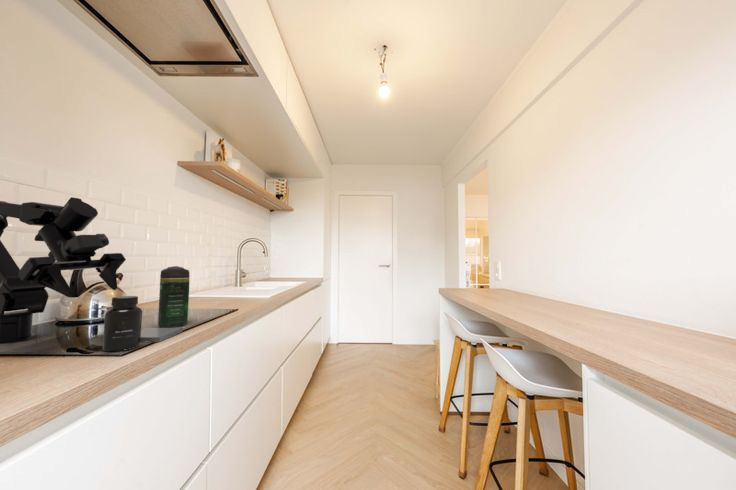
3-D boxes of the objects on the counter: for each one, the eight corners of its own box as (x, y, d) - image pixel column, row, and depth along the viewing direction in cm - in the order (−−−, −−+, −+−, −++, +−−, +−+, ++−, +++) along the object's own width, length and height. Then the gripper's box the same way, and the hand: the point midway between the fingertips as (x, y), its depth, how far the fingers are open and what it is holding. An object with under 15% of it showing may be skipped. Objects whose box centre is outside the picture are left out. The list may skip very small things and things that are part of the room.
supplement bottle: (118, 353, 65) (121, 299, 65) (94, 351, 66) (97, 298, 66) (147, 344, 71) (149, 295, 72) (125, 342, 73) (127, 294, 73)
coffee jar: (189, 325, 91) (191, 266, 91) (158, 329, 86) (160, 266, 87) (186, 320, 98) (188, 265, 99) (157, 323, 94) (160, 265, 94)
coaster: (146, 332, 83) (146, 327, 83) (182, 331, 83) (182, 327, 83) (118, 342, 73) (118, 337, 73) (159, 342, 73) (159, 337, 73)
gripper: (27, 220, 62) (62, 276, 60) (121, 223, 80) (151, 267, 78) (3, 253, 64) (36, 309, 62) (100, 249, 82) (128, 292, 80)
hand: (94, 292), depth 70 cm, fingers open, 9 cm apart
